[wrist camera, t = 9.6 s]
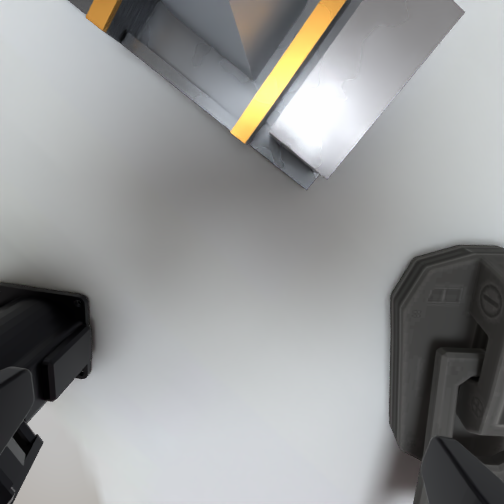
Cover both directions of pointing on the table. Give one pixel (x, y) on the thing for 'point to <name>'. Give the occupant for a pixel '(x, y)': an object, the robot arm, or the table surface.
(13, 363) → the robot arm
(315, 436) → the table surface
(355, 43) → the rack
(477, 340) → the zipper pull
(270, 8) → the pale blue square pillar
